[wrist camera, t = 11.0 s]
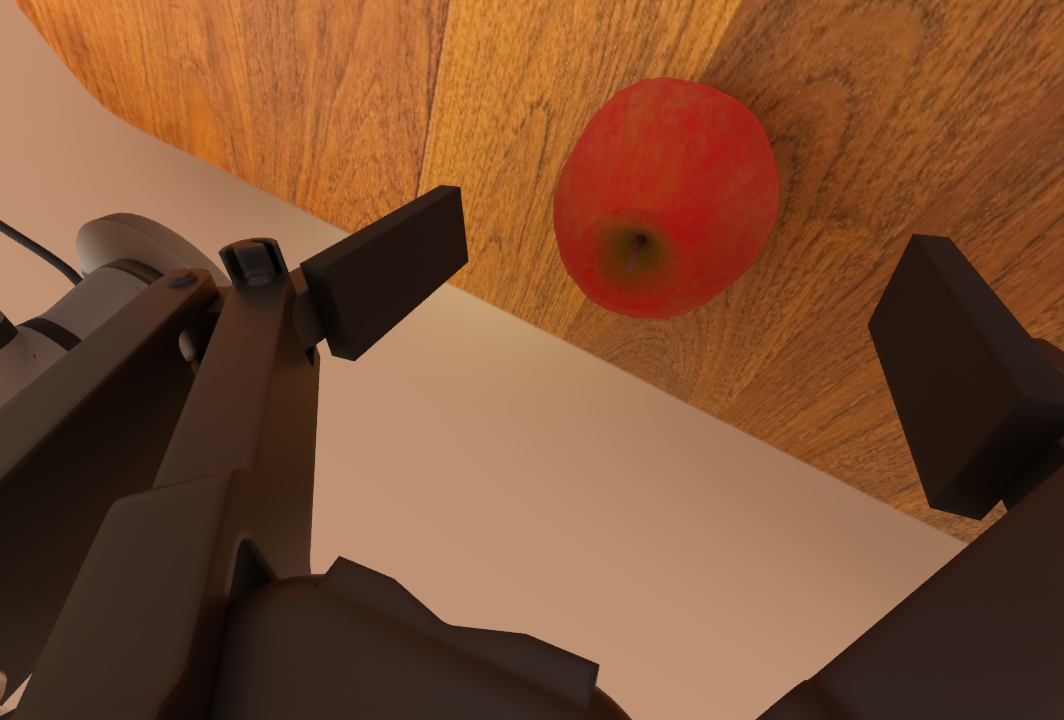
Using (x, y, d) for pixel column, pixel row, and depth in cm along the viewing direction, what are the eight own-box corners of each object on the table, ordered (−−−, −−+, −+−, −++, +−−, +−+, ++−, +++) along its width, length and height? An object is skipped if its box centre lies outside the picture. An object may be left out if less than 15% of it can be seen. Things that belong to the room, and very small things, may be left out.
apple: (605, 55, 20) (503, 87, 12) (813, 81, 18) (863, 141, 10) (578, 237, 25) (496, 345, 17) (737, 272, 23) (729, 415, 15)
